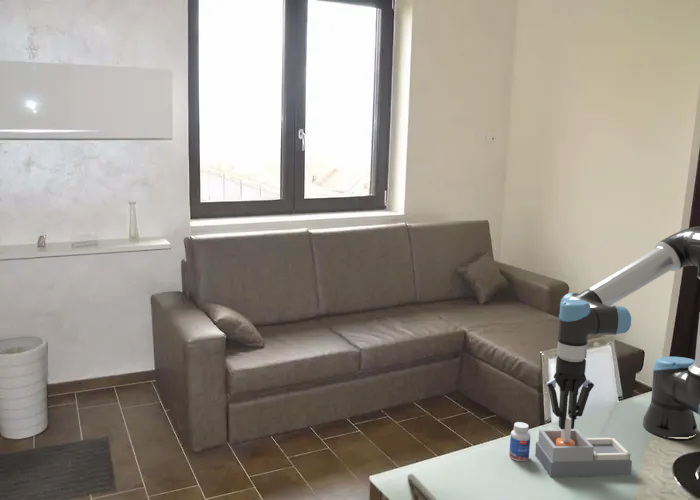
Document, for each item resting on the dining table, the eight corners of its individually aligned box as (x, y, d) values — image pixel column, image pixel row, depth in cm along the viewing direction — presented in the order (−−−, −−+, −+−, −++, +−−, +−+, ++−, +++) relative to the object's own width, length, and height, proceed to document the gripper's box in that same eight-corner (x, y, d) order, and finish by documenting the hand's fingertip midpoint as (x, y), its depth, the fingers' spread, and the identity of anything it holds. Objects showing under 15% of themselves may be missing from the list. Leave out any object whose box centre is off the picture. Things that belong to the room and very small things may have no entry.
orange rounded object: (569, 450, 178) (570, 437, 177) (577, 458, 173) (578, 445, 172) (552, 450, 178) (553, 437, 177) (559, 459, 173) (560, 446, 172)
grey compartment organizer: (610, 453, 183) (612, 427, 181) (630, 475, 171) (633, 447, 169) (535, 455, 181) (536, 428, 180) (550, 476, 170) (552, 448, 168)
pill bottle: (518, 463, 176) (520, 430, 175) (505, 455, 181) (507, 423, 180) (533, 459, 179) (535, 426, 177) (519, 451, 184) (521, 419, 182)
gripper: (589, 352, 175) (582, 433, 179) (542, 352, 174) (537, 433, 178) (601, 361, 167) (594, 445, 171) (552, 362, 167) (547, 446, 170)
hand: (565, 439), depth 174 cm, fingers closed
